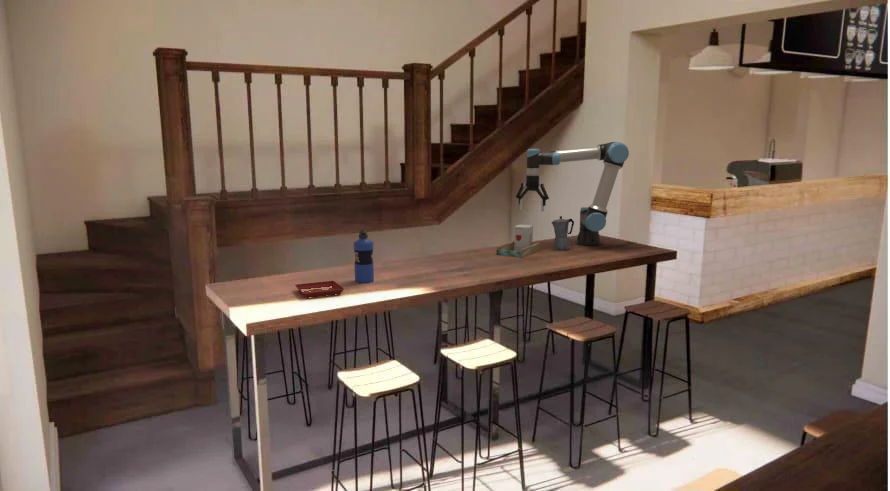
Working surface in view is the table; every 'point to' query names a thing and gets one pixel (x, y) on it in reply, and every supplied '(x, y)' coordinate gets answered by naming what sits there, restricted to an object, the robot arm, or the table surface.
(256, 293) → the table surface
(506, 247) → the tray
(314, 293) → the plant saucer
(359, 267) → the water bottle
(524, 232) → the supplement box
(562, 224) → the moka pot
